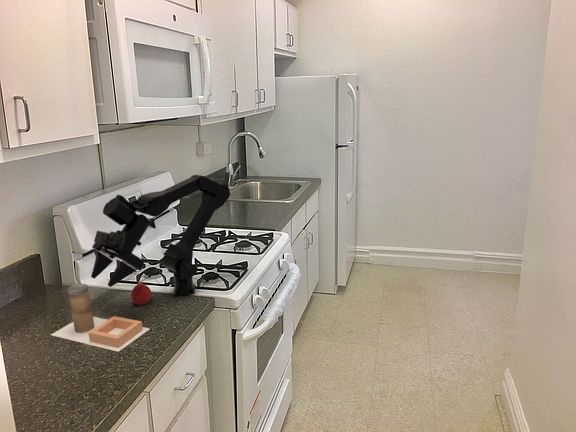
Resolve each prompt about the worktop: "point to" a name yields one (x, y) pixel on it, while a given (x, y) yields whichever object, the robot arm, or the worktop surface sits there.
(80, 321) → the gray-capped wooden tube
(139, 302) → the red oval fruit
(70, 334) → the mount board
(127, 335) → the socket
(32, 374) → the worktop surface
